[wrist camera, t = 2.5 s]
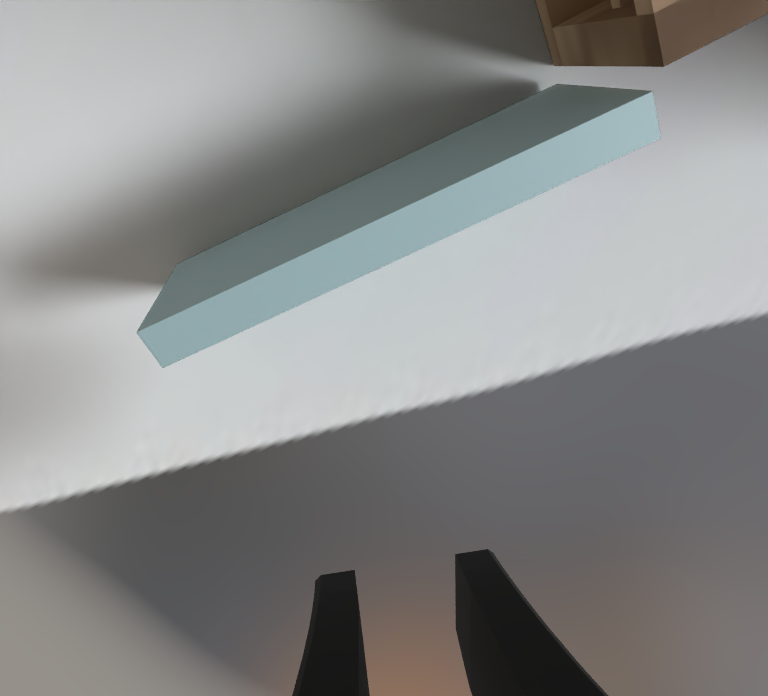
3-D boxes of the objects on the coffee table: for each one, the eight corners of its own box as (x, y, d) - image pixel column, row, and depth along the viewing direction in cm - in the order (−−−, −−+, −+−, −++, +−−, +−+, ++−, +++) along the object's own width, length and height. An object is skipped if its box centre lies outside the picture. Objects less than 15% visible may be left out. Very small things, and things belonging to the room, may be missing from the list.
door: (557, 84, 16) (652, 90, 12) (567, 127, 16) (662, 149, 12) (177, 263, 17) (136, 332, 12) (200, 299, 17) (168, 376, 13)
